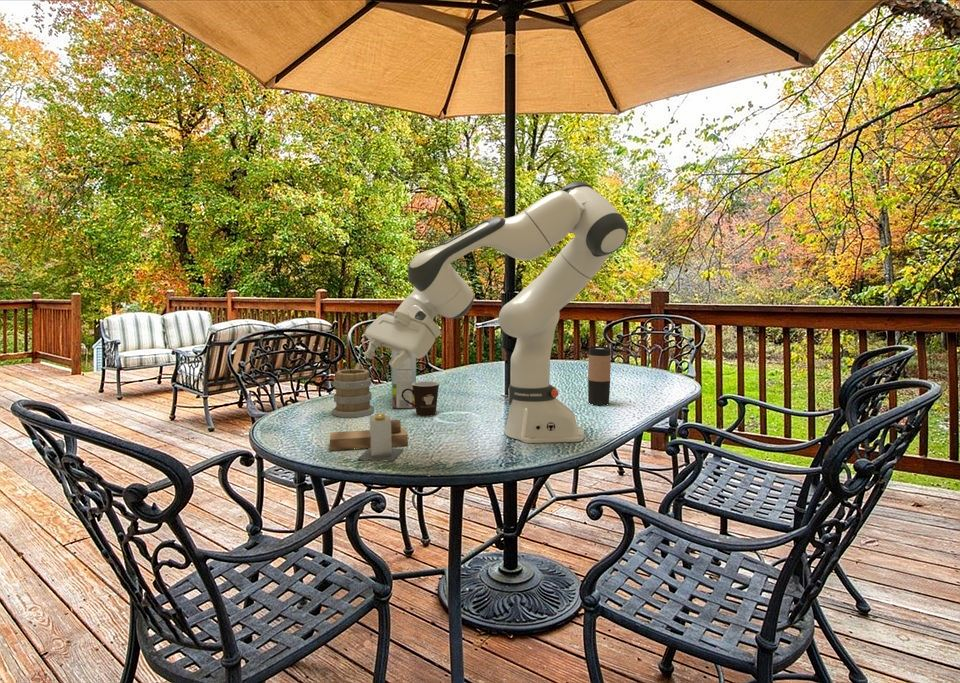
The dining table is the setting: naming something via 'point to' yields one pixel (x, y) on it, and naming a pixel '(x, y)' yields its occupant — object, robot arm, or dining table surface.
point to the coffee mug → (424, 397)
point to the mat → (390, 458)
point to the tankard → (352, 393)
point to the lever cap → (380, 436)
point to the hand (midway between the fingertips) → (379, 361)
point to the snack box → (403, 382)
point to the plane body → (366, 438)
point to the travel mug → (599, 375)
